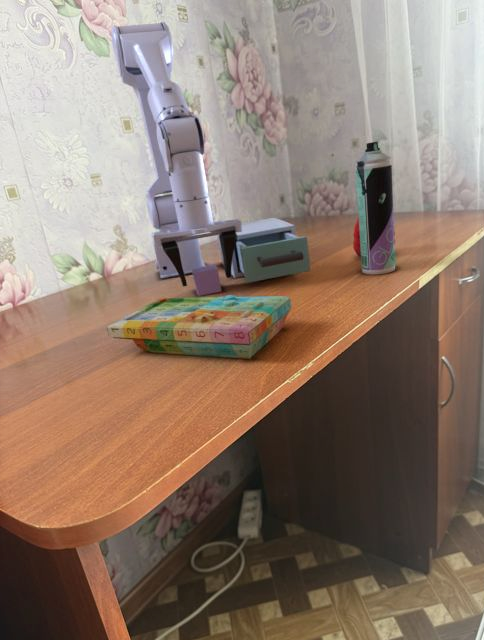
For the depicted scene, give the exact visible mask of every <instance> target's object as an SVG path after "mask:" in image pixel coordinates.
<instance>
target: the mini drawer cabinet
mask: <svg viewBox="0 0 484 640" xmlns="http://www.w3.org/2000/svg"><path fill="white" fill-rule="evenodd" d="M241 226H242V232H236V234H237V240H239V239H245V238H250V237H256V236H262V235H267V234H273V233H278V232H284V231H286V232H288V233H291V234H293V235H295V236H297V234H296V233H297V232H296V225H295V224H293V223H290V222H287V221H285V220H282V219H279V218H277V217H270V218H263V219H257V220H251V221H247V222H241ZM217 240H218V241H217V242H218V246H219V252H220V258H221V264H222V265H223V266H224V260H223V253H222V248H221V243H220V239H219V235H217ZM231 276H233V278H234V279H237V278H243V277H245V276H244V273H243V272H242V271H241V270H240V269H239V268H238V267H237V263H236V257H235V250H234V253H233V258H232V266H231Z"/></svg>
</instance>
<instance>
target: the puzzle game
mask: <svg viewBox="0 0 484 640" xmlns="http://www.w3.org/2000/svg"><path fill="white" fill-rule="evenodd" d="M292 308H293V307H292V300H291V298H290V297H288V296H284V295H274V296H273V295H272V296H270V295H267V296H265V295H264V296H262V295H261V296H260V295H259V296H258V295H257V296H235V295H234V294H229V295H224V296H188V297H187V296H185V297H184V296H182V297H181V296H176V297H175V296H174V297H170V296H169V297H166V296H165V297H160V298H159V299H156V300H155V301H152V302H151V303H149V304H147V305H145V306H143V307H142V308H140V309H138V310H135V311H134V312H132V313H130V314H128V315H127V316H125V317H122V318H120V319H119V320H117V321H115V322H113V323H111V324H109V325H107V326H106V330H107V334H108V336H109V337H111V338H113V339H120V340H131V341H133V343H134V345H136V347H137V348H139V349H141V350H142V351H144V352H146V353H152V354H154V353H156V354H167V355H168V354H169V355H182V356H183V355H186V356H200V357H214V358H231V359H247V360H250V359H251V358H252V357H253V356H254V355H256V353H258V352H259V351H260V350H261V349H262V348H263V347H264V346H265V345H266V344H267V343H269V342H270V341H271V340H272V339H273V338H274V337H275V336H276V335H277V334H278V333H279V332H281V330H282V328H283V326H284V324H285V321H286V318H287V316H288V315H289V313H290V312H291V310H292Z"/></svg>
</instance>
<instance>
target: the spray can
mask: <svg viewBox="0 0 484 640" xmlns="http://www.w3.org/2000/svg"><path fill="white" fill-rule="evenodd" d="M391 159H392V157H391V156H389V155H387V154H386V153H384V152H383V149H381V147H379V141H372V142H367V143H366V149H364V151H363V155H362V156H360V157H359V159H358V160H356V161H355V164H356V165H355V181H356V196H357V211H358V213H357V214H358V217H359V231H360V247H361V257H360V261H361V273H362V274H365V275H384V274H389V273H391V272H394V271H395V270H396V247H395V245H396V242H395V243H394V239H395V236H394V231H395V220H394V219H395V217H394V190H393V162H392V161H391Z"/></svg>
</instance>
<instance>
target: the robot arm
mask: <svg viewBox="0 0 484 640" xmlns="http://www.w3.org/2000/svg"><path fill="white" fill-rule="evenodd" d="M110 35H111V36H110V37H111V44H112V50H113V53H114V57H115V61H116V65H117V69H118V73H119V77H120V78H121V81H122V83H123V84H125V85H127V86H130V87H132V89H133V91H134V93H135V96H136V99H137V102H138V104H139V108H140V113H141V117H142V123H143V126H144V132H145V135H146V140H147V144H148V148H149V153H150V157H151V162H152V167H153V171H154V174H155V178H154V180H153V181H152V182H151V183H150V185H148V186H147V188H146V192H145V198H146V206H147V212H148V215H149V220H150V223H151V226H152V227H153V228H154V229H155V230H158V231H154V232H151V233H150V236H151V239H152V245H153V249H154V254H155V258H156V260H155V266H156V270H158V272H159V277H160V279H167V278H168V279H169V278H171V277H172V278H173V277H176V276H177V277H178V276H179V279H180V281H181V282H180V283H181V285H182V287H188V283H187V279H186V275H188V274H193V273H192V268H197V267H203V266H206V264H205V263H204V261H203V258H202V253H201V252H202V251H201V247H200V241H199V239H203V238H209V237H215V236H218V235H219V239H220V243H221V248H222V253H223V260H224V265H223V267H224V274H225V275H224V276H225V277H226V278H227V279H229V278H232V274H231V266H232V258H233V253H234V249H235V245H236V242H237V234H236V232H242V226H241V223H242V220H241V219H240V218H234V219H228V220H227V219H226V220H220V221H214V217H213V211H212V206H211V205H212V204H211V199H210V193H209V187H208V183H207V177H206V175H207V174H206V170H205V165H204V158H203V155H204V154H205V137H204V131H203V130H204V129H203V127H202V124H201V121H200V118H199V116H198V114H195V113H194V111H191V110H190V108H189V106H188V103H187V100H186V98H185V95H184V93H183V90H182V88H181V87H180V86H179V84H177V83H176V82H174V81H172V77H171V76H172V71H173V59H174V44H173V37H172V34H171V29H170V27H169V25H168V24H167V23H166V22H165V21H160V22H156V23H155V22H154V23H144V24H129V25H112V28H111V29H110ZM163 194H164V195H163Z"/></svg>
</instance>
